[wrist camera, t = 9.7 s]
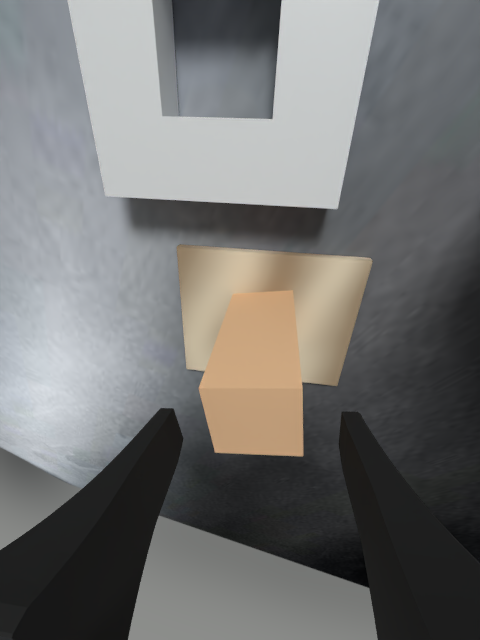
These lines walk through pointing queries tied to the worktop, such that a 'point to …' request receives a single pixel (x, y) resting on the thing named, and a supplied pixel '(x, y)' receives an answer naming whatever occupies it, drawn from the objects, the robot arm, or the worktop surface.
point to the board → (266, 276)
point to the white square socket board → (223, 133)
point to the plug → (255, 378)
